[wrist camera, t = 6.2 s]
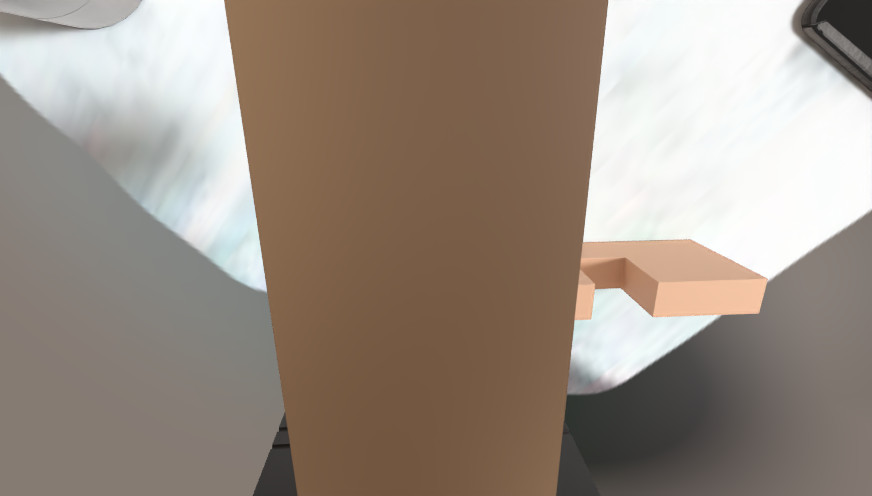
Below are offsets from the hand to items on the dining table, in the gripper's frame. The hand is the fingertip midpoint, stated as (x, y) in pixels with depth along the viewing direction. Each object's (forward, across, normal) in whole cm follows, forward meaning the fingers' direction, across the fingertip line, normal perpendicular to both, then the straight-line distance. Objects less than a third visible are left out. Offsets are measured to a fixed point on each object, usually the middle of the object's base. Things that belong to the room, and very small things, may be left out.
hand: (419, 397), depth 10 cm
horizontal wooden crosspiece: (+24, -13, +6) cm, 28 cm away
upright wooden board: (+9, 0, 0) cm, 9 cm away
